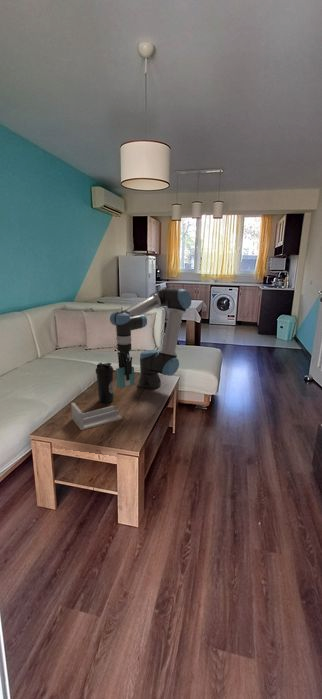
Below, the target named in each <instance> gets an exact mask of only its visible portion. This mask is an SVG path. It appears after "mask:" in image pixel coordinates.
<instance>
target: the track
mask: <svg viewBox="0 0 322 699" xmlns="http://www.w3.org/2000/svg"><path fill="white" fill-rule="evenodd" d="M70 405H71V407H70V408H71V417H72V420H73V421H74V423H75V424H76V426H77V427H78V428H79V430H80V431H83V430H87V429H90V428H94V427H97V426H102V425H105V424H109V423H112V422H116V421H119V420H122V419H123V417H122V416H121V414H120V411H119V409H116V408H115V405H110V406H107V407H105V406H104V407H103V408H98V409H94V410H90V411H87V412H82V410H81V409H80V408H79V406H77V404H76V403H75V402H71V403H70Z"/></svg>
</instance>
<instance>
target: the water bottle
mask: <svg viewBox="0 0 322 699" xmlns="http://www.w3.org/2000/svg"><path fill="white" fill-rule="evenodd" d="M114 371H115V370H114V367H113V366H112V363H111V362H106V363H102V362H99V363H97V365H96V368H95V374H96V383H97V384H96V385H97V392H98V393H97V394H98V402H99V403H100V404H106V405H107V404H111V403H113V402H114Z"/></svg>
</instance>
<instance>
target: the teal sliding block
mask: <svg viewBox="0 0 322 699" xmlns="http://www.w3.org/2000/svg"><path fill="white" fill-rule="evenodd" d="M115 374H116V377H115V378H116V387H117V388H119V389H122V388H125V387H127V386H125V376H124V374H125V367H122V368H119V367H118V368H115ZM134 385H135V367H134V366H132V374H130V385H129V386H130V387H131V386H134ZM129 386H128V387H129Z"/></svg>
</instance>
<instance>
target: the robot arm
mask: <svg viewBox="0 0 322 699" xmlns="http://www.w3.org/2000/svg"><path fill="white" fill-rule="evenodd" d="M191 306H192V295H191V293H190V292H189V291H188V290H187V289H185V288H184V289H183V288H163V289H160V290H157V291H155V292H153V293H151V294H150V295H149V296H148V297H147V298H145V299H143V300H141V301H139V302H137V303H135V304H133V305H131V306H130V307H128V308H125V309H124V310H121V311H120V312H118V311H116V312H115V311H114V312H112V313H110V317H109V322H110V323H111V325H113V326H115V327H116V329H115V330H116V343H117V344H116V346H117V347H116V350H117V360H118V368H122V367H125V374H124V376H125V386H126V387H129V385H130V374H132V367H133V366H132V365H133V364H132V361H133V356H130V351H131V350H132V331H135V330H139V329H143V328H145V327H146V326H147V325H148V318H147V316H146V315H145V314H146V313H148V312H150V311H152V310H154V309H158V308H162V307H167V308H166V309H167V311H168V315H167V320H166V326H165V330H164V335H163V336H164V337H163V341H162V347H161V349H160V350H159V351H158V350H156V349H150V350H145V351H141V352H140V354H139V364H140V367H139V368H140V370H139V371H140V375H139V377H138V381H137V384H138V385H137V386H138V387H140V388H141V389H146V390H147V389H148V390H151V389H157V388H159V387H161V385H162V381H161V378H160V375H159V374H161V375H163V376H169V377H171V376H173V375H175V374H176V373H177V371H178V370H179V367H180V360H179V358H177V357H178V354H177V353H176V350H177V345H178V344H177V343H178V340H179V334H180V330H181V326H182V325H181V323H182V320H183V315H184V314H185V313H186V310H187V309H189V308H190V307H191Z"/></svg>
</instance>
